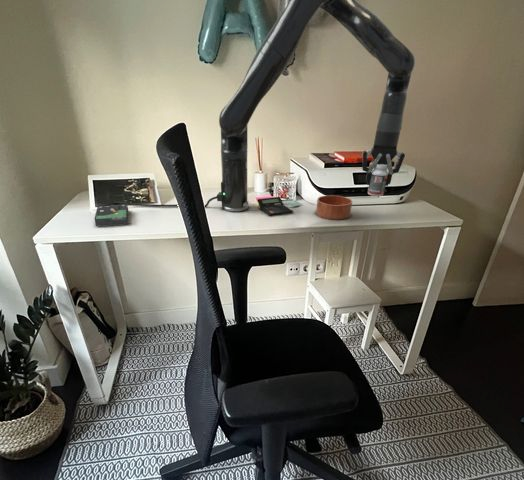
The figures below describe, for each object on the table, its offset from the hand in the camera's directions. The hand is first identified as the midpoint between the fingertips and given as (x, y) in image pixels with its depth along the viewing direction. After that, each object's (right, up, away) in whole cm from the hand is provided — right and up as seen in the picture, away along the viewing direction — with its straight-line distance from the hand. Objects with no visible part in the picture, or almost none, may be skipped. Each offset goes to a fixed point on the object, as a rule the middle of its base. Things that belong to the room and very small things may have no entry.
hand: (377, 184), depth 128 cm
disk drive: (-92, -13, -1) cm, 93 cm away
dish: (-14, -7, +8) cm, 18 cm away
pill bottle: (0, -3, +2) cm, 3 cm away
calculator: (-36, -5, +11) cm, 38 cm away
